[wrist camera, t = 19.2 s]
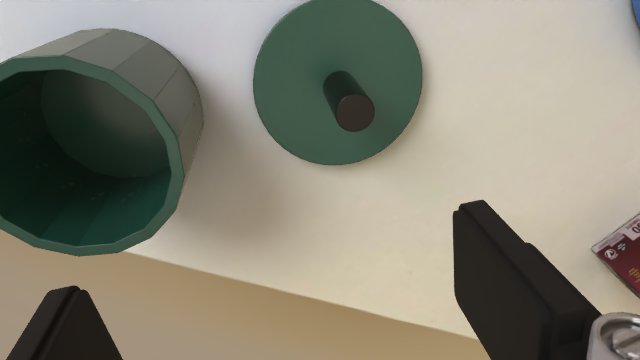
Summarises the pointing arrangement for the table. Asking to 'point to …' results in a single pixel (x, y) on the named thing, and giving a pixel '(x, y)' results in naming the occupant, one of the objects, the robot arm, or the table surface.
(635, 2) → the bowl
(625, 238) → the supplement box
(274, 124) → the lid
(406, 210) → the table surface
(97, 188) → the tin
